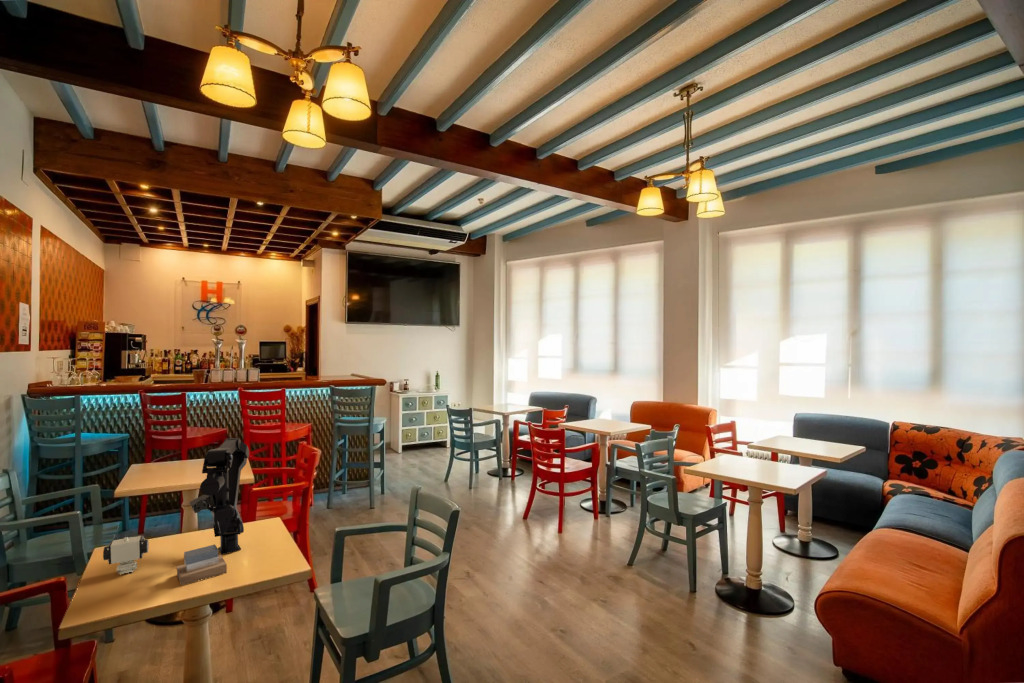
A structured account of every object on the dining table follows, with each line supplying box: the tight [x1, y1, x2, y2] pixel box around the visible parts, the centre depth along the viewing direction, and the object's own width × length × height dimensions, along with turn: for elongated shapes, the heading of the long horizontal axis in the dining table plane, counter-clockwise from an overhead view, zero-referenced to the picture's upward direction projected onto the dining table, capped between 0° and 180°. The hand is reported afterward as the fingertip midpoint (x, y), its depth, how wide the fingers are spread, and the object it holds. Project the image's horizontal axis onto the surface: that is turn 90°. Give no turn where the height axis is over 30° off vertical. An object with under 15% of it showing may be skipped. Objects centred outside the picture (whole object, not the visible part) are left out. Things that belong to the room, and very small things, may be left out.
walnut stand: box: [176, 554, 228, 586], centre depth 168 cm, size 9×13×3 cm
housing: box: [183, 544, 219, 572], centre depth 168 cm, size 9×5×5 cm, turn 131°
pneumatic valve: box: [102, 535, 150, 575], centre depth 169 cm, size 6×12×12 cm, turn 120°
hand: (219, 529), depth 174 cm, fingers open, 9 cm apart
